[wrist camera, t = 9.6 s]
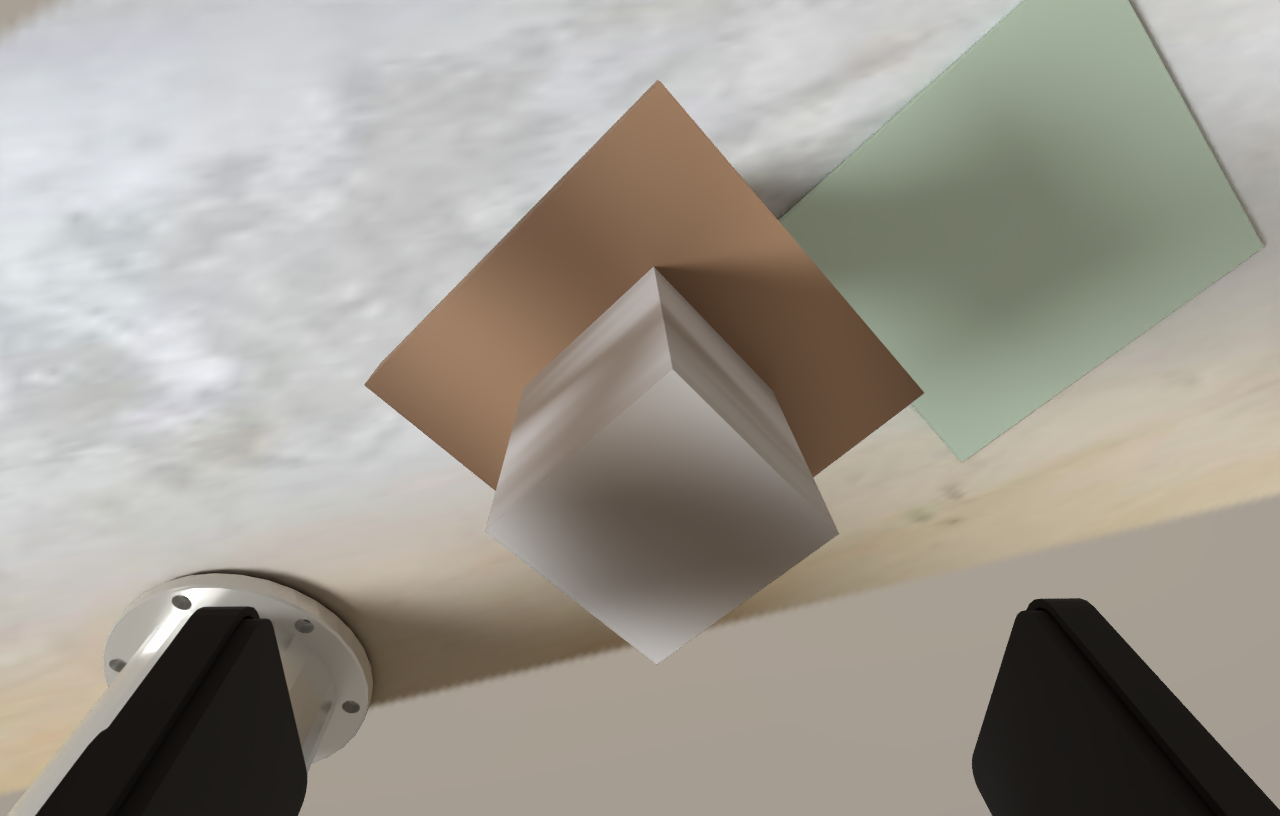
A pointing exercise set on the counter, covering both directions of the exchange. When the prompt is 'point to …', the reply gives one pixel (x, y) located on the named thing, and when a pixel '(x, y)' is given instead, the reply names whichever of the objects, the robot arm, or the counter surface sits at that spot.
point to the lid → (649, 383)
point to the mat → (1026, 216)
